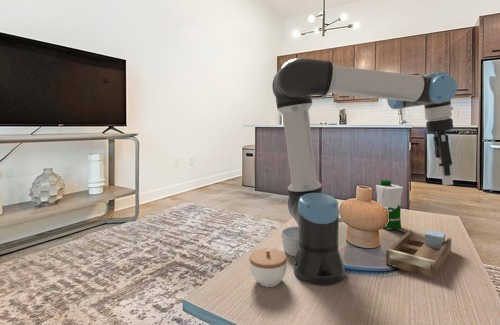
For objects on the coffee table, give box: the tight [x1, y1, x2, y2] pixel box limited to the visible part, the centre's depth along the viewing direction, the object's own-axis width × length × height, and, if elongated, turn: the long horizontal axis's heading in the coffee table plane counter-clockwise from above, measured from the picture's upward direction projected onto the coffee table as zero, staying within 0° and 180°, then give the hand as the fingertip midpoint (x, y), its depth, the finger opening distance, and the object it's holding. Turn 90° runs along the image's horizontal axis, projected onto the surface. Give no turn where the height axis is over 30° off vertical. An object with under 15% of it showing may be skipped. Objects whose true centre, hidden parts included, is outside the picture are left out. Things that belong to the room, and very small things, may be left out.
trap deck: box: [385, 229, 452, 279], centre depth 93 cm, size 13×24×5 cm, turn 135°
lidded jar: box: [249, 248, 288, 288], centre depth 82 cm, size 11×11×9 cm
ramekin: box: [280, 226, 299, 257], centre depth 102 cm, size 13×13×7 cm
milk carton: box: [375, 179, 404, 230], centre depth 122 cm, size 9×9×20 cm
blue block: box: [424, 229, 446, 249], centre depth 97 cm, size 5×5×4 cm
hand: (444, 179), depth 99 cm, fingers open, 13 cm apart
